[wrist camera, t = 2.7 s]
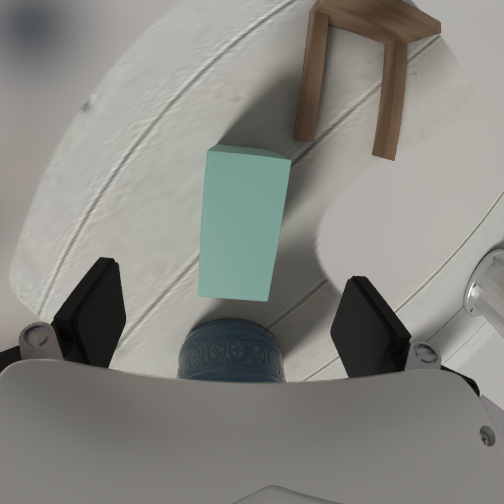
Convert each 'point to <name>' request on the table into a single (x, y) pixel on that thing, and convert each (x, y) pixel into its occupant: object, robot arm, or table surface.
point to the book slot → (395, 57)
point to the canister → (231, 353)
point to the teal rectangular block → (241, 221)
